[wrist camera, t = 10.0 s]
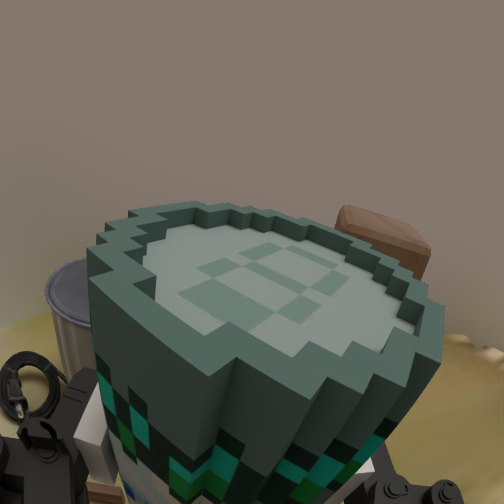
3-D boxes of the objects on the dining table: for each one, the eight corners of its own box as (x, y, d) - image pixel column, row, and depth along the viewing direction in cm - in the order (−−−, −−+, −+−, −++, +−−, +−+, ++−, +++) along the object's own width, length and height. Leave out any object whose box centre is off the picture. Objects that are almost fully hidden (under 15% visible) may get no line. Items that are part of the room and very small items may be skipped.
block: (290, 376, 36) (344, 219, 29) (299, 332, 45) (341, 201, 38) (365, 394, 35) (436, 248, 27) (362, 349, 44) (413, 224, 36)
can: (116, 517, 10) (37, 226, 4) (193, 459, 15) (242, 195, 9) (212, 591, 7) (415, 489, 2) (281, 517, 12) (444, 276, 7)
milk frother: (184, 424, 26) (200, 299, 21) (47, 497, 14) (-32, 380, 9) (107, 344, 34) (104, 228, 28) (-6, 385, 22) (-46, 258, 16)
